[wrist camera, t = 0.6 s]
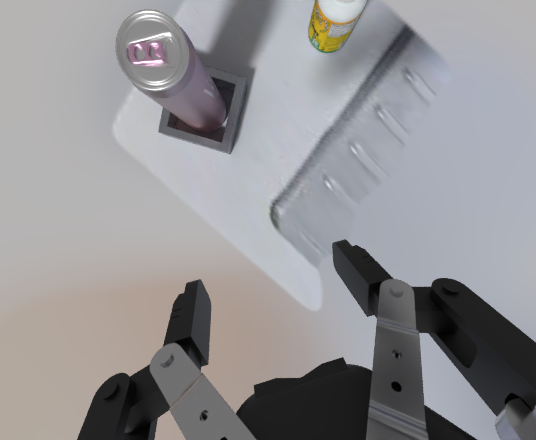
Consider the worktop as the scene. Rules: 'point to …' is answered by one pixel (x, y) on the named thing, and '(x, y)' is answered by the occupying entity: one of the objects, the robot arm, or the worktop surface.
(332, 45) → the supplement bottle
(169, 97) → the beverage can
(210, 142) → the collar
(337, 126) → the worktop surface
